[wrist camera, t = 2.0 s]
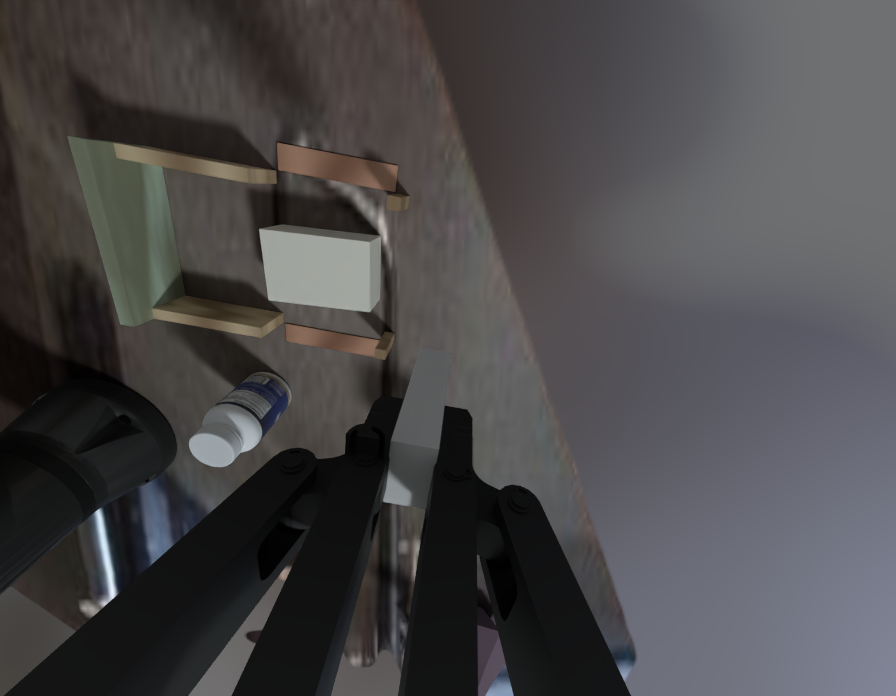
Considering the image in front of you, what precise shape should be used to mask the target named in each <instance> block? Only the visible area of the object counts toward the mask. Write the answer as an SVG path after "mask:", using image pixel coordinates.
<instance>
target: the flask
mask: <svg viewBox="0 0 896 696" xmlns="http://www.w3.org/2000/svg"><path fill="white" fill-rule="evenodd" d="M477 626H478V696H485V695H486V693H487V692H488V690H489V688H490V686H491V685H492V683H493V681H494V680H495V678H496V677H497V675H498V674H499V672H500V671H501V670H502V668H503V667H504V665H505V664H506V662H505V658H504V654H503V650H502V646H501V642H500V638H499V634H498V630H497V627H496V625H495V624H494V623H493V621H492V620H491V619H490V618H489V616H488V615H487V614H486V612H485V611H484V610H483V608H481V607H478V606H477Z"/></svg>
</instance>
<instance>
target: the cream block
mask: <svg viewBox="0 0 896 696" xmlns="http://www.w3.org/2000/svg"><path fill="white" fill-rule="evenodd" d="M259 233H260V240H261V248H262V255H263V262H264V270H265V277H266V284H267V292H268V299H269V300H271V301H279V302H288V303H296V304H305V305H313V306H321V307H330V308H338V309H347V310H355V311H363V312H370V311H371V310H372V309H373V307H374V306H375V305H376V304H377V302H378V301H379V300H380V259H381V236H377V235H369V234H360V233H352V232H343V231H335V230H326V229H318V228H309V227H301V226H292V225H284V224H281V225H276V226H271V227H266V228H261V229H259Z"/></svg>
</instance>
